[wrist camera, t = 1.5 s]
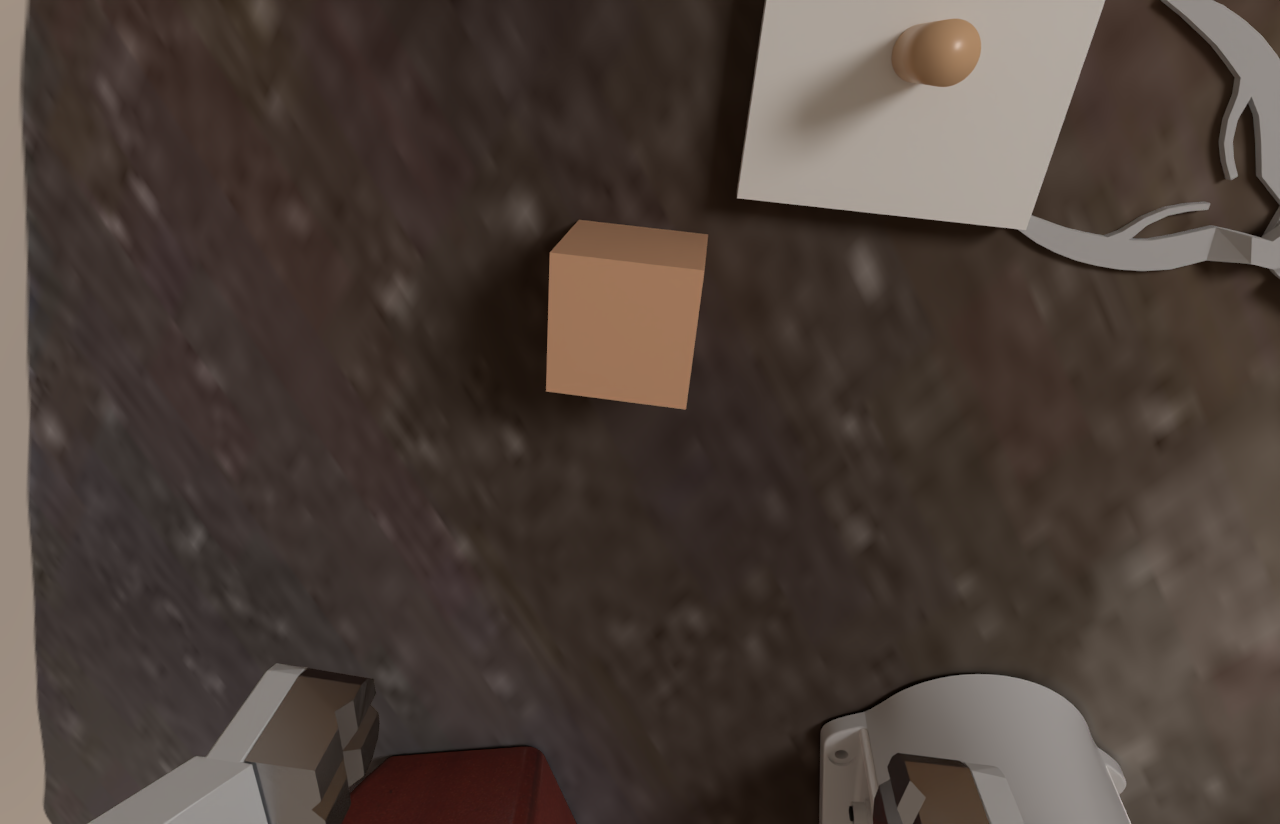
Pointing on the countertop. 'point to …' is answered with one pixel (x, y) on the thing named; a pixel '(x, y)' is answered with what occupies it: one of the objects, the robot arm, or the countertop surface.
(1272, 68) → the pliers
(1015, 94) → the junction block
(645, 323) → the tan cardboard cube
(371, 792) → the plant pot
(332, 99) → the countertop surface
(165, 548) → the countertop surface
